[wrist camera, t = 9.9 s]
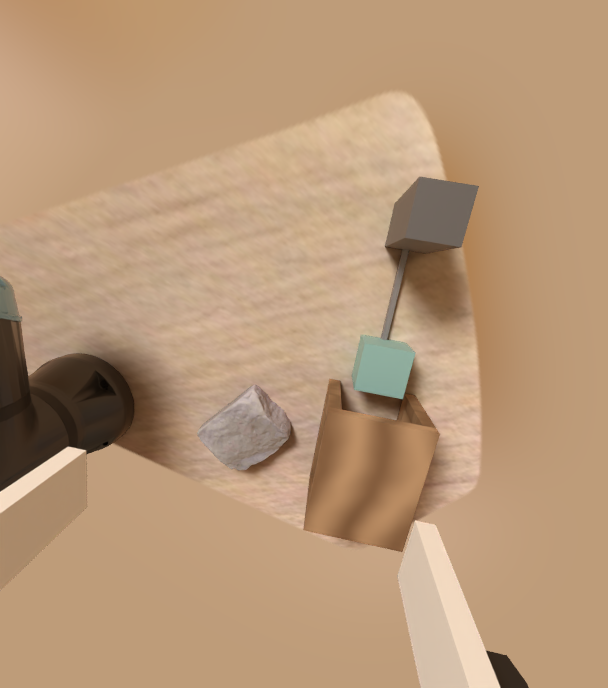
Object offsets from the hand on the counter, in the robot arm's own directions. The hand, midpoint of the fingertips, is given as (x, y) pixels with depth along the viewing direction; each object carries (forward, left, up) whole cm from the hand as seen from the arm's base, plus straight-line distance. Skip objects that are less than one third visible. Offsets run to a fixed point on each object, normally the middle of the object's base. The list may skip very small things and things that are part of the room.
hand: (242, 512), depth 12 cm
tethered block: (+10, +7, -31) cm, 33 cm away
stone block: (-6, -15, -31) cm, 35 cm away
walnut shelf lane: (+10, -13, -31) cm, 35 cm away
